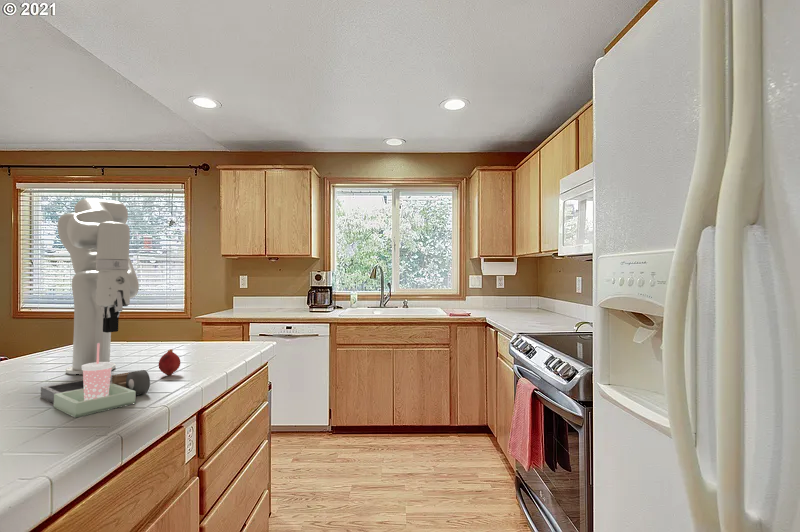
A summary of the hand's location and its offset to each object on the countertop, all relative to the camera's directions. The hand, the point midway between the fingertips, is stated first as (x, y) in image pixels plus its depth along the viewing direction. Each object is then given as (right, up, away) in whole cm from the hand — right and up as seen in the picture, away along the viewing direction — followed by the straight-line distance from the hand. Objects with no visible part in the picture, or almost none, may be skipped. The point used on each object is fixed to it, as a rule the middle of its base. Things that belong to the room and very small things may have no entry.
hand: (110, 331), depth 115 cm
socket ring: (-1, -14, -11) cm, 18 cm away
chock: (+9, -15, -6) cm, 18 cm away
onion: (+10, -15, +11) cm, 21 cm away
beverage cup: (+9, -14, -18) cm, 25 cm away
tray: (+9, -15, -18) cm, 25 cm away
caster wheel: (+13, -15, -9) cm, 22 cm away
